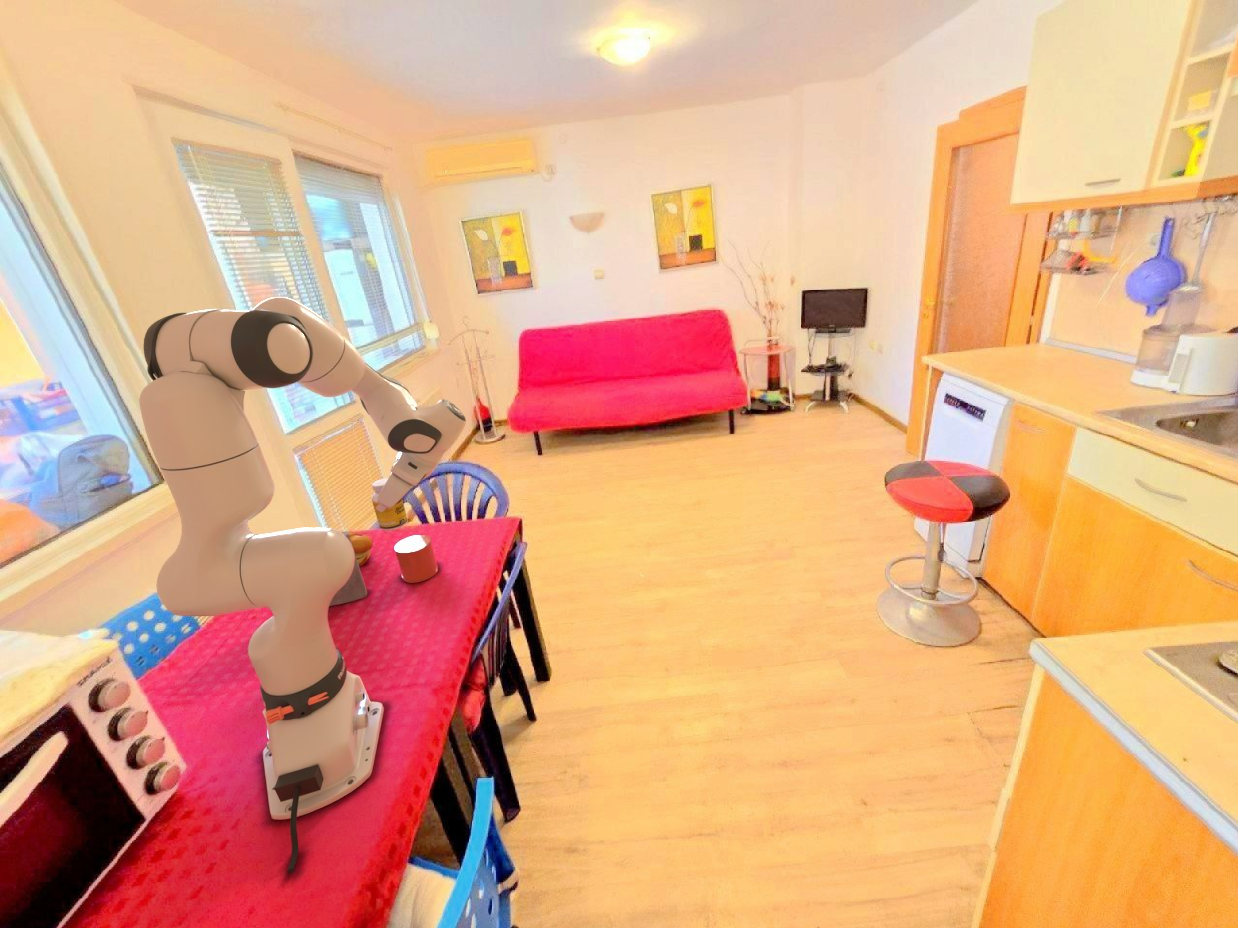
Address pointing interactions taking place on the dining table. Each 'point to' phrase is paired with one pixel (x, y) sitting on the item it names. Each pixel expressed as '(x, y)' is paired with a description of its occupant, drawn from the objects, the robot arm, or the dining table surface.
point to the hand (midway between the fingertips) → (385, 502)
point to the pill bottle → (388, 510)
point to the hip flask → (351, 585)
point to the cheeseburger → (361, 547)
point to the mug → (416, 558)
